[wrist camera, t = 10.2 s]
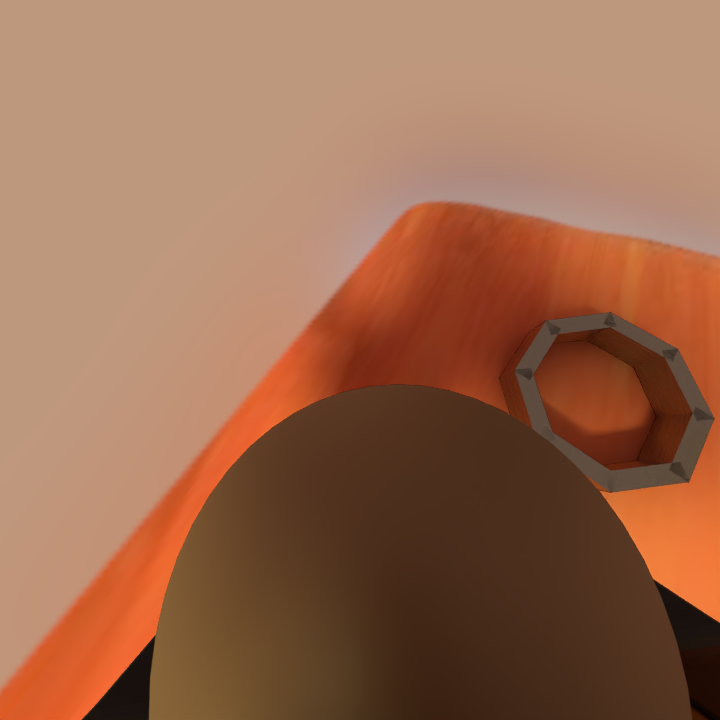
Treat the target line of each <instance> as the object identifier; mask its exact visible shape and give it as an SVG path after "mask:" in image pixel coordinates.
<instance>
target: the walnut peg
mask: <svg viewBox="0 0 720 720" xmlns="http://www.w3.org/2000/svg"><path fill="white" fill-rule="evenodd" d="M149 720H692V714H691V706H690V699H689V692H688V686H687V682H686V678H685V673H684V669H683V665H682V661H681V657H680V653H679V649H678V645H677V641H676V638H675V635H674V632H673V629H672V626H671V623H670V621H669V618H668V615H667V612H666V609H665V606H664V603H663V601H662V598H661V596H660V593H659V591H658V589H657V587H656V585H655V583H654V580H653V578H652V576H651V574H650V572H649V570H648V567H647V565H646V563H645V561H644V559H643V557H642V555H641V554H640V552H639V550H638V549H637V547H636V545H635V543H634V542H633V540H632V538H631V537H630V535H629V533H628V531H627V530H626V528H625V526H624V525H623V523H622V522H621V520H620V519H619V518H618V516H617V515H616V513H615V512H614V511H613V509H612V508H611V507H610V505H609V504H608V502H607V501H606V500H605V498H604V497H603V496H602V494H601V493H600V492H599V491H598V489H597V488H596V487H595V486H594V485H593V484H592V483H591V482H590V480H589V479H588V478H587V477H586V476H585V475H584V474H583V473H582V471H581V470H580V469H579V468H578V467H577V466H576V465H575V464H574V463H573V462H572V461H571V460H569V459H568V458H567V457H566V456H565V455H564V454H563V453H562V452H561V451H560V450H559V449H557V448H556V447H555V446H554V445H553V444H552V443H551V442H549V441H548V440H547V439H545V438H544V437H542V436H541V435H540V434H538V433H537V432H536V431H534V430H533V429H532V428H530V427H529V426H528V425H526V424H524V423H523V422H521V421H519V420H518V419H516V418H514V417H512V416H511V415H509V414H507V413H505V412H504V411H502V410H500V409H498V408H496V407H493V406H491V405H489V404H486V403H484V402H482V401H480V400H477V399H475V398H472V397H469V396H465V395H462V394H459V393H456V392H452V391H449V390H444V389H438V388H433V387H427V386H420V385H398V384H393V385H381V386H369V387H364V388H360V389H355V390H350V391H346V392H342V393H339V394H336V395H333V396H331V397H328V398H325V399H322V400H319V401H317V402H315V403H313V404H311V405H309V406H307V407H305V408H303V409H301V410H299V411H297V412H295V413H293V414H292V415H290V416H289V417H287V418H286V419H284V420H283V421H281V422H280V423H278V424H277V425H275V426H274V427H272V428H271V429H270V430H269V431H268V432H266V433H265V434H264V435H263V436H262V437H261V438H259V439H258V440H257V441H256V442H255V443H254V444H252V445H251V446H250V447H249V448H248V449H247V450H246V451H245V452H244V453H243V454H242V456H241V457H240V458H239V459H238V460H237V461H236V462H235V463H234V464H233V465H232V466H231V467H230V468H229V470H228V471H227V472H226V474H225V475H224V476H223V478H222V479H221V480H220V482H219V483H218V484H217V486H216V487H215V489H214V490H213V491H212V493H211V494H210V495H209V497H208V499H207V500H206V502H205V504H204V506H203V507H202V509H201V511H200V512H199V514H198V516H197V518H196V519H195V521H194V523H193V524H192V526H191V529H190V531H189V533H188V535H187V537H186V540H185V542H184V544H183V546H182V549H181V551H180V553H179V555H178V557H177V560H176V563H175V566H174V569H173V572H172V575H171V578H170V581H169V584H168V587H167V590H166V593H165V596H164V601H163V605H162V610H161V614H160V618H159V623H158V627H157V631H156V636H155V644H154V652H153V660H152V668H151V676H150V701H149Z"/></svg>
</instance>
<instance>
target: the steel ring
mask: <svg viewBox="0 0 720 720" xmlns="http://www.w3.org/2000/svg"><path fill="white" fill-rule="evenodd" d="M585 339H586V340H588V341H589V342H591V343H593V344H595V345H596V346H598V347H600V348H602V349H603V350H605V351H607V352H609V353H610V354H612V355H614V356H615V357H617V358H619V359H621V360H622V361H624V362H626V363H628V364H629V365H631V366H633V367H634V369H635V371H636V373H637V375H638V378H639V380H640V382H641V384H642V386H643V388H644V391H645V393H646V395H647V397H648V399H649V401H650V404H651V406H652V408H653V410H654V412H655V415H656V419H655V421H654V424H653V426H652V428H651V430H650V432H649V434H648V437H647V439H646V441H645V443H644V445H643V448H642V450H641V452H640V454H639V456H638V459H637V461H631V462H623V463H616V464H608V465H601V464H600V463H598V462H597V461H595V460H594V459H592V458H591V457H589V456H588V455H586V454H585V453H583V452H582V451H580V450H579V449H577V448H576V447H574V446H573V445H571V444H570V443H568V442H567V441H565V440H564V439H563V438H561V437H560V436H558V435H557V434H555V433H554V432H552V429H551V426H550V423H549V420H548V417H547V414H546V411H545V408H544V405H543V402H542V399H541V396H540V393H539V391H538V388H537V385H536V382H535V379H534V376H533V374H534V373H535V371H536V369H537V368H538V366H539V364H540V363H541V361H542V360H543V358H544V356H545V355H546V353H547V351H548V350H549V348H550V346H551V345H552V344H554V343H562V342H569V341H577V340H585ZM499 379H500V382H501V386H502V389H503V393H504V396H505V399H506V403H507V406H508V410H509V413H510V415H511V416H512V417H514V418H516V419H518V420H519V421H521V422H523V423H524V424H526V425H528V426H529V427H530V428H532V429H533V430H534V431H536V432H537V433H538V434H540V435H541V436H542V437H544V438H545V439H547V440H548V441H549V442H551V443H552V444H553V445H554V446H555V447H556V448H557V449H559V450H560V451H561V452H562V453H563V454H564V455H565V456H566V457H567V458H568V459H569V460H571V461H572V462H573V463H574V464H575V465H576V466H577V467H578V468H579V469H580V470H581V471H582V473H583V474H584V475H585V476H586V477H587V478H588V479H589V480H590V482H591V483H592V484H593V485H594V486H595V487H596V488H597V489H598V490H599V491H604V492H609V493H612V492H618V491H625V490H633V489H641V488H648V487H656V486H663V485H671V484H678V483H686V482H688V483H689V481H690V478H691V476H692V473H693V471H694V468H695V466H696V463H697V461H698V458H699V456H700V453H701V451H702V448H703V446H704V443H705V441H706V438H707V436H708V433H709V431H710V428H711V426H712V423H713V421H714V419H715V418H714V417H713V415H712V413H711V411H710V409H709V407H708V405H707V403H706V401H705V399H704V398H703V396H702V394H701V392H700V390H699V388H698V386H697V384H696V382H695V380H694V379H693V377H692V375H691V373H690V371H689V369H688V367H687V365H686V363H685V361H684V360H683V358H682V356H681V354H680V352H679V350H678V349H677V348H675V347H673V346H671V345H670V344H668V343H666V342H664V341H662V340H660V339H659V338H657V337H655V336H653V335H651V334H649V333H648V332H646V331H644V330H642V329H640V328H638V327H637V326H635V325H633V324H631V323H629V322H627V321H626V320H624V319H622V318H620V317H618V316H616V315H614V314H613V313H611V312H608V313H601V314H593V315H585V316H578V317H570V318H562V319H554V320H546V321H544V322H543V323H542V324H540V325H539V326H537V327H536V328H535V329H533V330H532V331H530V332H529V333H528V334H527V336H526V338H525V339H524V341H523V342H522V344H521V345H520V347H519V348H518V350H517V352H516V353H515V355H514V356H513V358H512V359H511V361H510V362H509V364H508V366H507V367H506V369H505V370H504V372H503V373H502V375H501V376H500V378H499Z"/></svg>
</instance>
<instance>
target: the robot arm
mask: <svg viewBox="0 0 720 720" xmlns="http://www.w3.org/2000/svg"><path fill="white" fill-rule="evenodd" d="M653 580H654V579H653ZM654 583H655V585H656V587H657V589H658V591H659V593H660V596H661V598H662V601H663V603H664V606H665V609H666V612H667V615H668V618H669V621H670V623H671V626H672V629H673V632H674V635H675V638H676V641H677V645H678V649H679V653H680V657H681V661H682V665H683V669H684V673H685V678H686V682H687V686H688V692H689V699H690V706H691V714H692V720H720V623H719V622H718V621H716V620H715V619H713V618H712V617H710V616H708V615H707V614H705V613H704V612H702V611H701V610H699V609H698V608H696V607H695V606H693V605H692V604H690V603H689V602H687V601H685V600H684V599H682V598H681V597H679V596H678V595H676V594H675V593H673V592H672V591H670V590H669V589H667V588H666V587H664V586H663V585H661V584H660V583H658V582H657V581H655V580H654ZM155 636H156V635H155ZM155 636H154V637H153V638H152V640H151V641H150V642H149V643H148V644H147V645H146V647H145V648H144V649H143V650H142V651H141V652H140V654H139V655H138V656H137V657H136V658H135V660H134V661H133V662H132V663H131V664H130V665H129V667H128V668H127V669H126V670H125V671H124V672H123V674H122V675H121V676H120V677H119V678H118V679H117V681H116V682H115V683H114V684H113V685H112V687H111V688H110V689H109V690H108V691H107V692H106V694H105V695H104V696H103V697H102V698H101V699H100V700H99V702H98V703H97V704H96V705H95V706H94V707H93V708H92V709H91V710H90V711H89V712H88V714H87V715H86V716H85V717H84V718H83V719H82V720H149V701H150V676H151V668H152V660H153V652H154V644H155Z"/></svg>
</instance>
